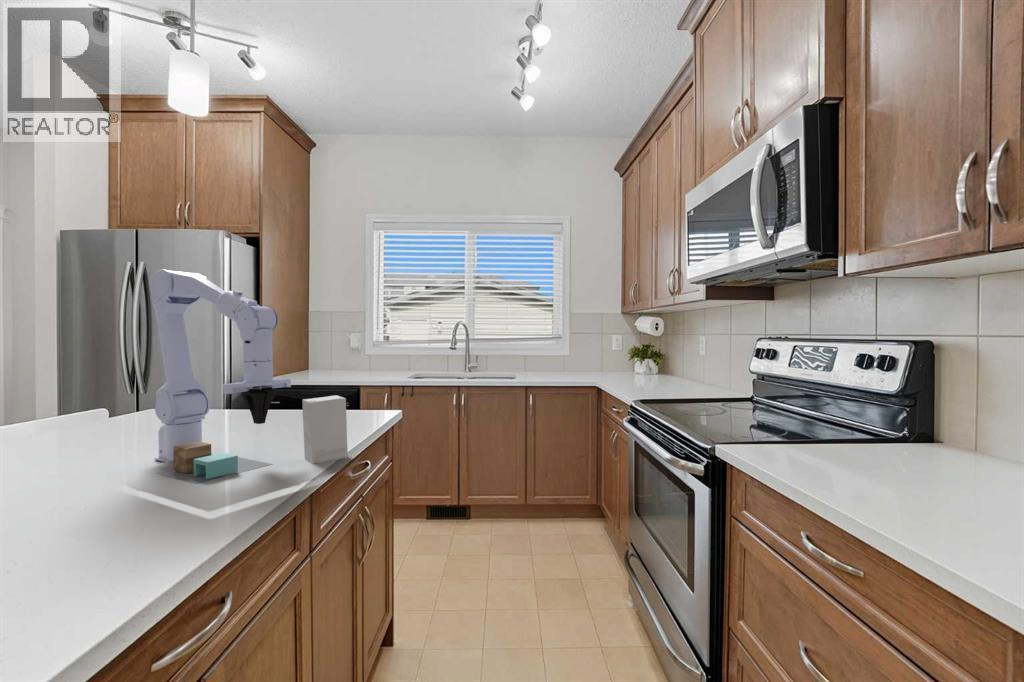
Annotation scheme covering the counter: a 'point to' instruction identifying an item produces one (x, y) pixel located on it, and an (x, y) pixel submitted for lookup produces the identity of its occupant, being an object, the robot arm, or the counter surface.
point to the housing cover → (216, 465)
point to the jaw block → (189, 455)
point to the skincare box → (325, 429)
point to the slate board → (189, 477)
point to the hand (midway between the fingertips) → (259, 423)
